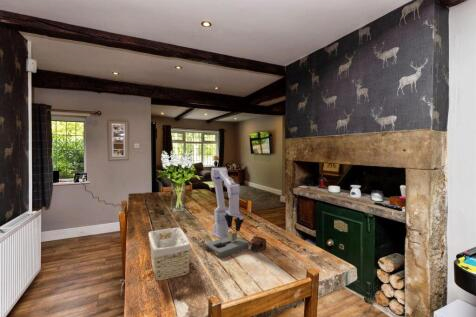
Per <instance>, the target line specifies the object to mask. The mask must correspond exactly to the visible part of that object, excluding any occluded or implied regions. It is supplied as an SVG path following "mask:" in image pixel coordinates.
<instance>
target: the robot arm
mask: <svg viewBox="0 0 476 317" xmlns="http://www.w3.org/2000/svg"><path fill="white" fill-rule="evenodd" d="M228 173H229V172H228V169H227V167H226V166H225V167H212V168H211V170H210V177H211V181H212V182H213V183H214V190H215V196H216V204H217V207H216V208H215V209H214V210H213V213H214V214H213V219H214V224H213V233H212V235H213V236H215V237H217V238H219V239H222V238H225V237H228V232H229V228H232V227H233V220H234V224H235V232H239V231H240V230H241V227H242V224H243V222H244V220H245V219H244V215H242V214H241V212H240V195H241V193H242V188H241V185H240V184H239V183H236V182H235V181H234V179H233V178H232V177H230V176H229V174H228ZM223 185H224V186H225V188H226V189H227V197H228V206H226V202H225V201H226V200H225V195H224V189H223ZM233 218H234V219H233Z"/></svg>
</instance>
